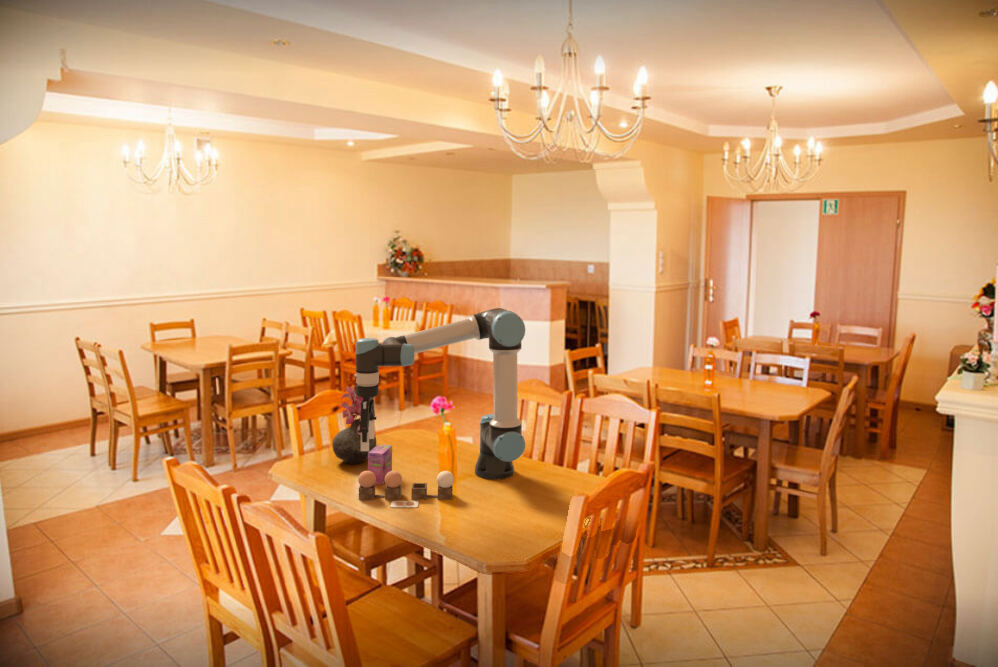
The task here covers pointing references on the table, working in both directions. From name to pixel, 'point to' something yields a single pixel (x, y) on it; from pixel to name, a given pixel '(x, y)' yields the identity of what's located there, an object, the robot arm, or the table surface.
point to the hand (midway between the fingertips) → (367, 444)
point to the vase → (351, 433)
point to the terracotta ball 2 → (393, 479)
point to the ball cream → (445, 479)
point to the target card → (404, 504)
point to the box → (380, 462)
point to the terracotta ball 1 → (367, 479)
